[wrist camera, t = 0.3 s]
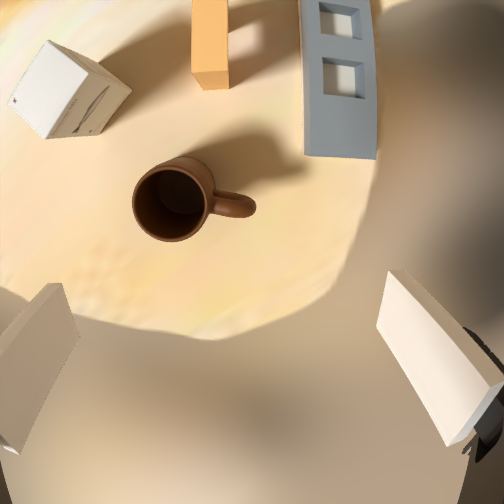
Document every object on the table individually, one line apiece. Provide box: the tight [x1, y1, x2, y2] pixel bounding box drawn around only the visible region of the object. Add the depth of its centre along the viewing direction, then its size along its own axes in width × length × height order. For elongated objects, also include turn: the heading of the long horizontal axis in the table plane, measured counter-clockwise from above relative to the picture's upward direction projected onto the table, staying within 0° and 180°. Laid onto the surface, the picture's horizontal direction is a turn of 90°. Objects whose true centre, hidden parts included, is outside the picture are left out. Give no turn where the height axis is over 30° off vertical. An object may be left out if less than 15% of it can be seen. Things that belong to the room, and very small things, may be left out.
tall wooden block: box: [191, 0, 229, 90], centre depth 24 cm, size 10×3×10 cm, turn 1°
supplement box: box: [8, 40, 133, 139], centre depth 24 cm, size 7×7×13 cm
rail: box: [298, 0, 377, 160], centre depth 28 cm, size 26×8×4 cm, turn 1°
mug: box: [132, 157, 256, 242], centre depth 31 cm, size 12×8×9 cm, turn 82°
